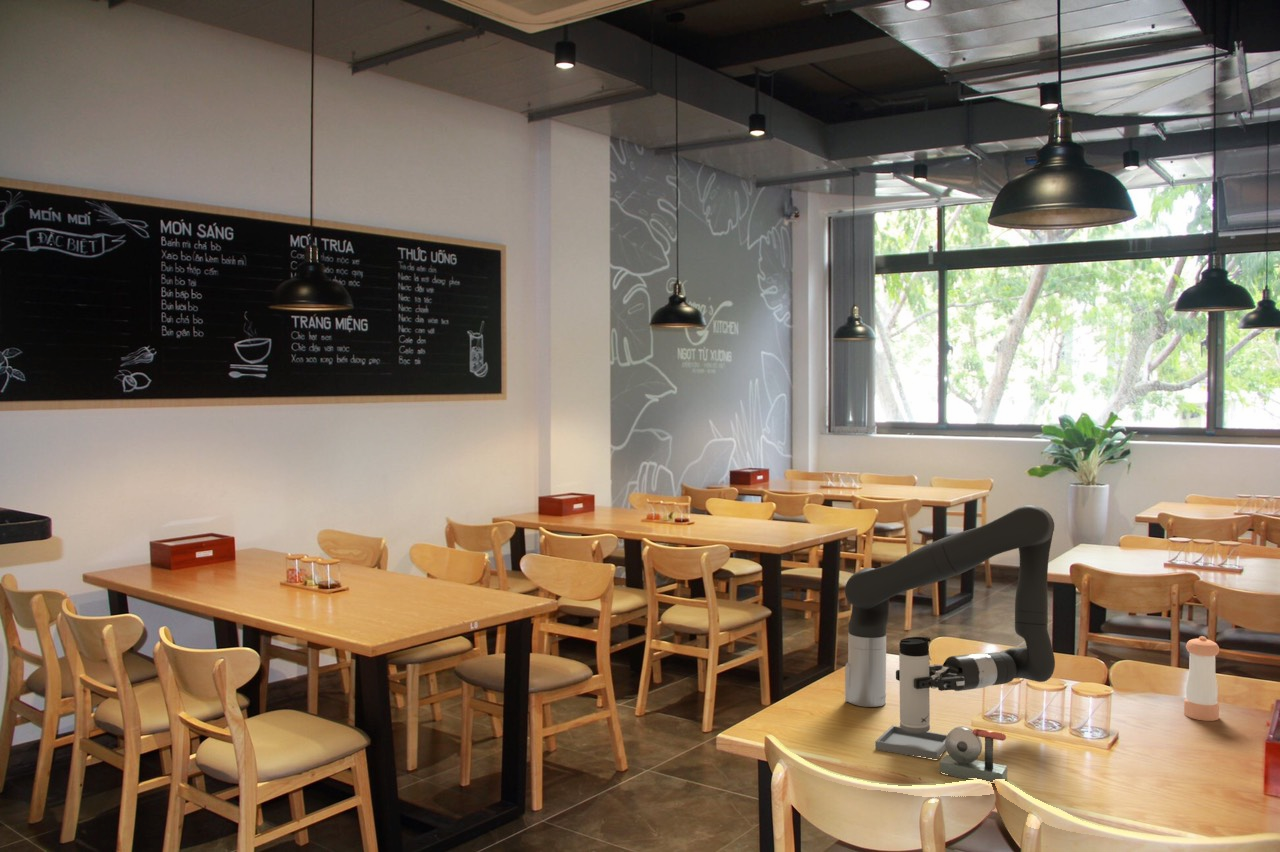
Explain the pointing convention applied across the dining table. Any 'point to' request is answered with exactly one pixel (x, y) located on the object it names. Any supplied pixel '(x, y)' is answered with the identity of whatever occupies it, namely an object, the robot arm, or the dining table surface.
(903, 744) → the tray
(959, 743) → the crank stand
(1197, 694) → the salt shaker
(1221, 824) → the dining table surface
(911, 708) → the travel mug
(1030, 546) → the robot arm
